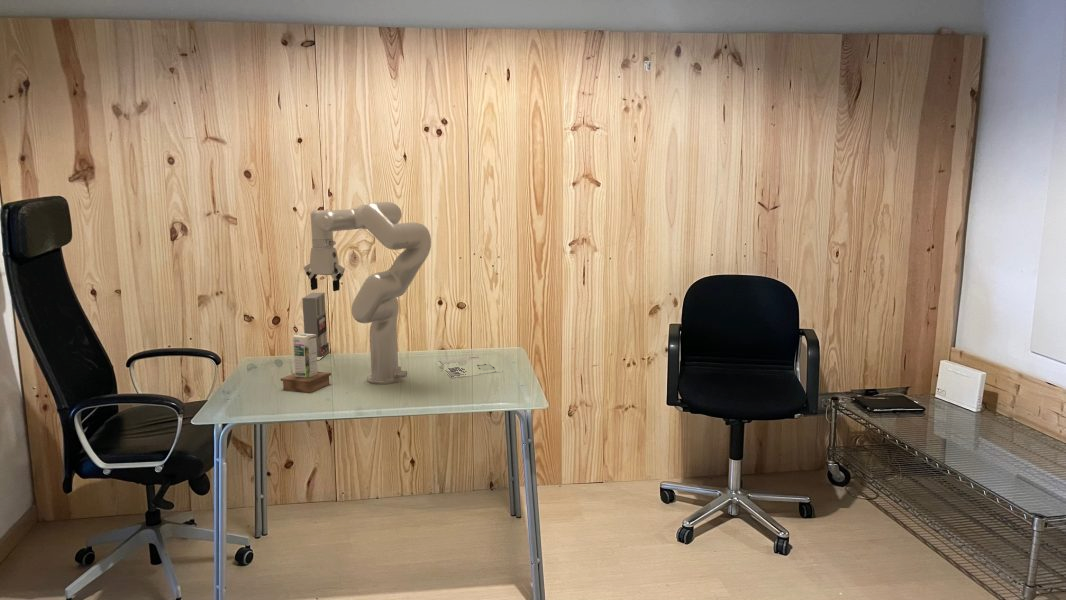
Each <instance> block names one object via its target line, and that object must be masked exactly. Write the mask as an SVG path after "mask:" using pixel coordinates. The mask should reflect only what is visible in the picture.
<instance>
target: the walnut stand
mask: <svg viewBox="0 0 1066 600" xmlns="http://www.w3.org/2000/svg"><path fill="white" fill-rule="evenodd" d="M330 376H332V373H331V372H325V371H318V374H317V375H315V376H312V377H310V378H304V377H295V372H294V373H292V374H289V375H286V376H283V377H282V378H280V381H281V382H282V386H283V387H282V388H283V391H292V392H300V393H301V392H302V393H313V392H314V391H317V390H319V389H320V390H321V388H324V387H326V386H330V383H331V381H330Z"/></svg>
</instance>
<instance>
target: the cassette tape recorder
mask: <svg viewBox="0 0 1066 600" xmlns="http://www.w3.org/2000/svg"><path fill="white" fill-rule="evenodd" d="M325 294H326V293H325V292H311V293H309V294H307V295H305V296H304V297H302V313H303V314H302V316H303V330H304V331H303V332H304V334H316V345H317V357H322V356H324V357H325V356H326V355H328V353H330V343H329V342H328V336H327V335H328V333H327V330H328V328H327V313H326V312H327V311H326V297H325V296H326V295H325Z"/></svg>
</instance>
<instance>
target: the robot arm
mask: <svg viewBox="0 0 1066 600" xmlns="http://www.w3.org/2000/svg"><path fill="white" fill-rule="evenodd" d="M401 218H402V209H401V208H400V207H399V206H398V204H397V203H393V202H391V201H383V202H381V201H380V202H370V203H367V204H362V205H360V206H359V205H358V207H356V208H350V209H348V208H347V209H334V210H333V209H332V210H327V209H326V210H325V209H322V210H321V209H320V210H317V209H316V210H312V211H311V213H310V225H311V244H312V245H311V246H312V247H311V248H310V254H309V263H308V264H307V265H305V266H303V270H304V271H305V274H306V276H307V277H308V280H309V282H310V290H311V291H315V290H317V289H318V284H319V283H318V278H317V277H318V276H319V275H320V276H331V279H333V280H332V291H333V292H337V291H340V286H341V285H340V280H341V278H342V277H343V276H344V274H345V270H346V269H345V267H343V266H342V265H340V262H339V256H338V252H337V249H336V247H334V246H335V245H336V243H337V242H336V241H334V232H340V231H352V230H361V229H362V230H368V231H369V233H371V235H372V236H373V237H375V238H376V240H377V241H378V242H379V243H381V245H383V247H385V248H387V249H389V250H393V251H395V250H396V251H397V250H403V251H402V252H401V253H400V254H398V256H397V257H396V258H395V260H394V261H393V263H392V264H391V266H390V268H388V269H387V270H385V271H380V272H374V273H372V274H369V276H367V278H366V279H365V280H364V282H363V284H362V285H361V288H360V289H359V290H358V292H357V293H356V295H355V298H354V300H353V301H352V305H351V314H352V317H353V319H354V321H356V322H357V323H359V324H360V323H361V324H369V323H371V325H370V327H369V328H370V329H369V346H370V347H369V352H370V370H371V371H370V372H371V374H370V375H368V376H367V377H366V379H367V380H366V381H367V382H368V383H371V384H375V385H388V384H394V383H395V384H396V383H398V382H401V381H402V380H403V379H405V378H407V377H408V371H407V370H402V367H401V366H399V355H398V354H399V353H398V351H399V350H398V349H399V348H398V316H399V311H400V310H399V309H400V303H399V300H398V298H400V297H401V296H403V295H404V294H405V293H406V292H407V290H408V289H409V287H410V285H411V284H412V282H413V280H414V279H415V277H416V276H417V275H416V274H417V273H418V271H419V270H420V269H421V267H422V266H423V265H424V263H425V261H427V258H428V256H429V254H430V251H431V247H432V238H431V233H430V231H429V229H428V228H427V226H425V225H424V224H422V223H419V222H402V223H400V221H401Z"/></svg>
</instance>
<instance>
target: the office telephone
mask: <svg viewBox="0 0 1066 600" xmlns="http://www.w3.org/2000/svg"><path fill="white" fill-rule="evenodd" d="M473 359H481V358H480V357H479V356H472V357H464V358H456V359H455V358H454V359H446V360H439V361H438V362H440V363H441V364H442V365H444V364H450V363H456V362H463V361H467V360H473ZM448 369H449V370H450V371H447V370H445V371H446V372H447V373H448V374H449V375H450V376H451V377H454V376H460V375H464V374H461V373H459V372H456V371H458V370H459V371H461V372H463V373H465V372H467V371H465V372H464V371H462V370H465V369H463V368H461V369H462V370H461V369H460V368H459V367H454V368H448ZM457 369H458V370H457ZM448 374H447V375H448ZM449 375H448V376H449ZM465 375H466V374H465Z"/></svg>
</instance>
